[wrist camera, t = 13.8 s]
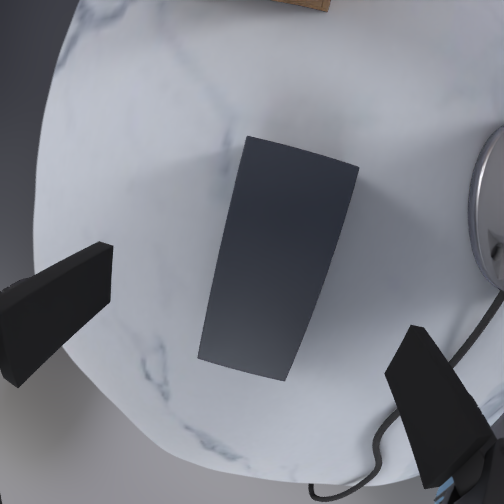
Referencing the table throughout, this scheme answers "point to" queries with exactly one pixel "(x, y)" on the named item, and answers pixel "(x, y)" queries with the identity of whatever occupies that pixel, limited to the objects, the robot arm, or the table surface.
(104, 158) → the table surface
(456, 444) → the robot arm
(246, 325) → the case
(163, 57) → the table surface
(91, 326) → the table surface
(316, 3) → the carton
